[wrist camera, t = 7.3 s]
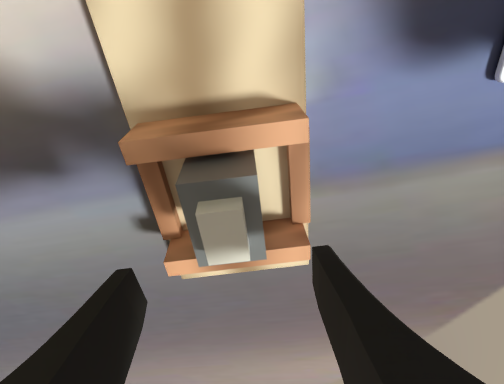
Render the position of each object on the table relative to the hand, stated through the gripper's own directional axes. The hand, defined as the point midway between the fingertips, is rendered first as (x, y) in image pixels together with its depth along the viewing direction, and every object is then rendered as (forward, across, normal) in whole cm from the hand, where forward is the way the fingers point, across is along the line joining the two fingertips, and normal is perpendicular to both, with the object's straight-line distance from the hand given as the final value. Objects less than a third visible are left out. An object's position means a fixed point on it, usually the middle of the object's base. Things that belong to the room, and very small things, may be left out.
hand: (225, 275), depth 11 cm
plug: (+8, 0, 0) cm, 8 cm away
